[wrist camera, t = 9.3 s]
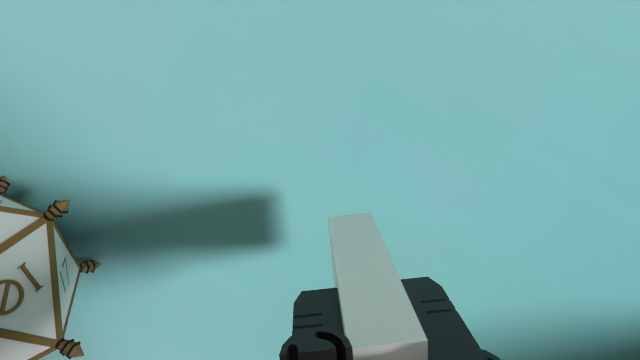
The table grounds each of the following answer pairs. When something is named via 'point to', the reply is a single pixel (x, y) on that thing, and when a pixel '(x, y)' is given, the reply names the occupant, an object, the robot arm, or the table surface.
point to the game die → (35, 281)
